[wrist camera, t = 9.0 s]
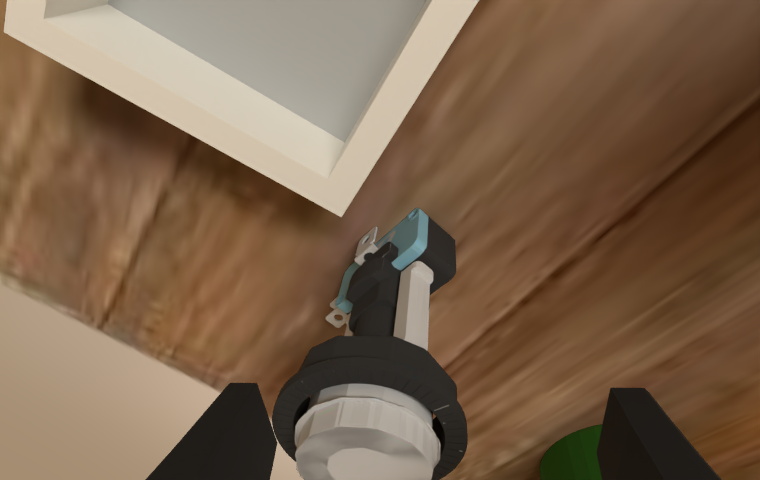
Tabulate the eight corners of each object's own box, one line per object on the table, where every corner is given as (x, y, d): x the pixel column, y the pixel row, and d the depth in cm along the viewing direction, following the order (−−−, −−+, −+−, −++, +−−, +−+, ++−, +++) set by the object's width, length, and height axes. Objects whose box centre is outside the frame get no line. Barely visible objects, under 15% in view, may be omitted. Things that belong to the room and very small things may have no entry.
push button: (378, 332, 23) (342, 557, 15) (290, 266, 22) (197, 477, 13) (484, 253, 20) (514, 481, 12) (392, 170, 19) (351, 366, 10)
